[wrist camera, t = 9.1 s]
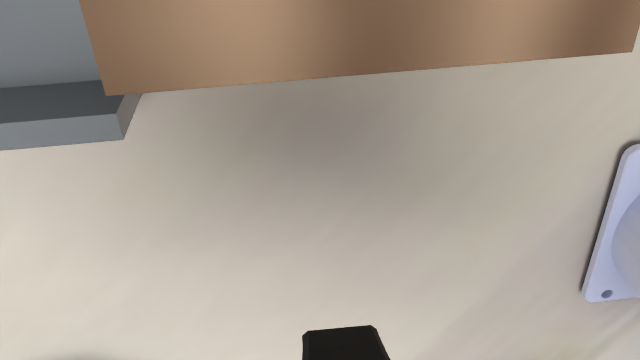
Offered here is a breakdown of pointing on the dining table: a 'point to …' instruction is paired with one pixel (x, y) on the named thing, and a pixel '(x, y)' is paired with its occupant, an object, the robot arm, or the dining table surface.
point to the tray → (53, 79)
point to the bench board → (337, 37)
